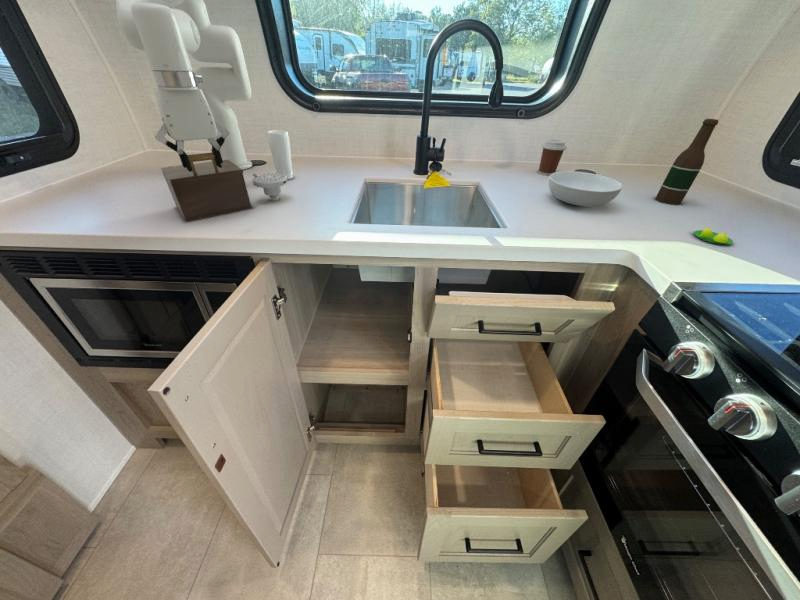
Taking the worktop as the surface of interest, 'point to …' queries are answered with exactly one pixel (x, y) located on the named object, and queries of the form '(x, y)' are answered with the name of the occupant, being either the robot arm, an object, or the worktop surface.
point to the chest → (210, 196)
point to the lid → (200, 169)
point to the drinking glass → (281, 152)
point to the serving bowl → (583, 188)
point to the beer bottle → (686, 167)
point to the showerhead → (270, 184)
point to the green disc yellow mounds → (713, 236)
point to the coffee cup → (551, 156)
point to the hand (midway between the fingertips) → (204, 167)
